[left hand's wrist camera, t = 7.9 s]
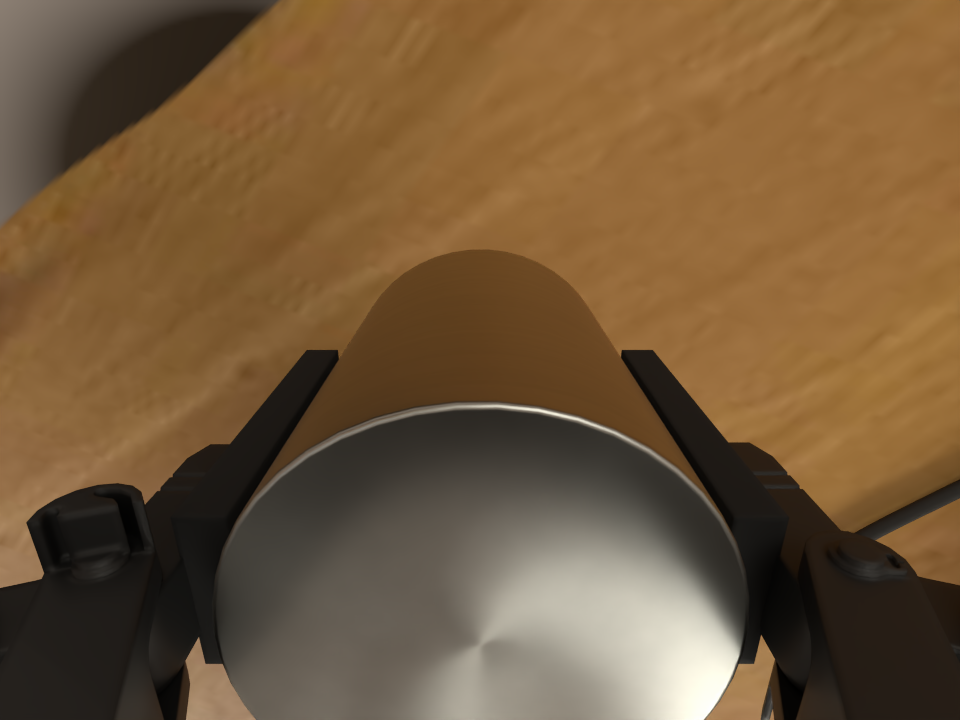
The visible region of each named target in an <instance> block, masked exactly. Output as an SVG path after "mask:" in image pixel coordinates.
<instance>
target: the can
mask: <svg viewBox="0 0 960 720" xmlns="http://www.w3.org/2000/svg"><path fill="white" fill-rule="evenodd" d="M212 609H213V623H214V634H215V638H216V642H217V646H218V650H219V654H220V658H221V661H222V663H223V666H224V668H225V670H226V673H227V675H228V677H229V680H230V682H231V684H232V686H233V687H234V689H235V690H236V692H237V694H238V695H239V697H240V699H241V700H242V702H243V704H244V705H245V706H246V708H247V709H248V710H249V711H250V713H251V714H252V715H253V716H254V717H255V719H256V720H705V719H706V718H707V717H708V716H709V714H710V713H711V712H712V710H713V709H714V708H715V707H716V705H717V704H718V703H719V701H720V700H721V698H722V696H723V695H724V693H725V691H726V689H727V688H728V686H729V684H730V683H731V681H732V679H733V677H734V674H735V672H736V669H737V667H738V664H739V662H740V659H741V656H742V654H743V649H744V645H745V640H746V635H747V631H748V619H749V592H748V585H747V578H746V571H745V567H744V564H743V561H742V557H741V554H740V551H739V548H738V545H737V542H736V540H735V538H734V536H733V534H732V532H731V531H730V529H729V527H728V525H727V523H726V521H725V519H724V517H723V515H722V514H721V512H720V511H719V509H718V508H717V506H716V504H715V503H714V501H713V500H712V498H711V497H710V495H709V494H708V492H707V490H706V489H705V487H704V486H703V484H702V483H701V481H700V480H699V478H698V477H697V475H696V473H695V472H694V470H693V469H692V467H691V466H690V464H689V463H688V461H687V459H686V458H685V456H684V455H683V453H682V452H681V450H680V449H679V447H678V445H677V444H676V442H675V441H674V439H673V438H672V436H671V435H670V433H669V432H668V430H667V428H666V427H665V425H664V424H663V422H662V421H661V419H660V418H659V416H658V414H657V413H656V411H655V410H654V408H653V407H652V405H651V404H650V402H649V401H648V399H647V397H646V396H645V394H644V393H643V391H642V390H641V388H640V387H639V385H638V383H637V382H636V380H635V379H634V377H633V376H632V374H631V373H630V371H629V369H628V368H627V366H626V365H625V363H624V362H623V360H622V359H621V357H620V356H619V354H618V352H617V351H616V349H615V348H614V346H613V345H612V343H611V342H610V340H609V338H608V337H607V335H606V334H605V332H604V331H603V329H602V328H601V326H600V325H599V323H598V321H597V320H596V318H595V317H594V315H593V314H592V312H591V311H590V309H589V307H588V306H587V305H586V303H585V302H584V301H583V299H582V298H581V297H580V295H579V294H578V293H577V292H576V291H575V290H574V289H573V288H572V287H571V286H570V285H569V284H568V283H567V281H565V280H564V279H563V278H561V277H560V276H559V275H557V274H556V273H555V272H553V271H552V270H550V269H548V268H547V267H545V266H543V265H541V264H540V263H538V262H535V261H533V260H530V259H528V258H525V257H523V256H520V255H516V254H512V253H508V252H503V251H494V250H466V251H459V252H452V253H449V254H445V255H442V256H438V257H435V258H433V259H430V260H428V261H426V262H423V263H421V264H419V265H417V266H416V267H414V268H412V269H411V270H409V271H407V272H406V273H404V274H403V275H402V276H401V277H399V278H398V279H397V280H396V281H394V282H393V283H392V284H391V285H390V286H389V287H388V288H387V289H386V290H385V291H384V292H383V294H382V295H381V296H380V297H379V299H378V300H377V301H376V303H375V304H374V306H373V307H372V309H371V310H370V312H369V313H368V315H367V316H366V318H365V319H364V321H363V323H362V324H361V326H360V327H359V329H358V330H357V332H356V334H355V335H354V337H353V338H352V340H351V341H350V343H349V345H348V346H347V348H346V349H345V351H344V352H343V354H342V355H341V357H340V359H339V360H338V362H337V363H336V365H335V366H334V368H333V370H332V371H331V373H330V374H329V376H328V377H327V379H326V381H325V382H324V384H323V385H322V387H321V388H320V390H319V392H318V393H317V395H316V396H315V398H314V399H313V401H312V402H311V404H310V406H309V407H308V409H307V410H306V412H305V413H304V415H303V417H302V418H301V420H300V421H299V423H298V424H297V426H296V428H295V429H294V431H293V432H292V434H291V435H290V437H289V438H288V440H287V442H286V443H285V445H284V446H283V448H282V449H281V451H280V453H279V454H278V456H277V457H276V459H275V460H274V462H273V464H272V465H271V467H270V468H269V470H268V471H267V473H266V475H265V476H264V478H263V479H262V481H261V482H260V484H259V485H258V487H257V489H256V490H255V492H254V493H253V495H252V496H251V498H250V500H249V501H248V503H247V504H246V506H245V507H244V509H243V511H242V512H241V514H240V515H239V517H238V518H237V520H236V522H235V524H234V526H233V528H232V530H231V532H230V534H229V536H228V538H227V540H226V542H225V545H224V547H223V550H222V553H221V557H220V560H219V563H218V567H217V570H216V574H215V582H214V592H213V601H212Z"/></svg>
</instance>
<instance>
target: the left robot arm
mask: <svg viewBox="0 0 960 720" xmlns="http://www.w3.org/2000/svg"><path fill="white" fill-rule="evenodd" d="M621 359H622V360H623V362H624V363H625V365H626V366H627V368H628V369H629V371H630V373H631V374H632V376H633V377H634V379H635V380H636V382H637V383H638V385H639V387H640V388H641V390H642V391H643V393H644V394H645V396H646V397H647V399H648V401H649V402H650V404H651V405H652V407H653V408H654V410H655V411H656V413H657V414H658V416H659V418H660V419H661V421H662V422H663V424H664V425H665V427H666V428H667V430H668V432H669V433H670V435H671V436H672V438H673V439H674V441H675V442H676V444H677V445H678V447H679V449H680V450H681V452H682V453H683V455H684V456H685V458H686V459H687V461H688V463H689V464H690V466H691V467H692V469H693V470H694V472H695V473H696V475H697V477H698V478H699V480H700V481H701V483H702V484H703V486H704V487H705V489H706V490H707V492H708V494H709V495H710V497H711V498H712V500H713V501H714V503H715V504H716V506H717V508H718V509H719V511H720V512H721V514H722V515H723V517H724V519H725V521H726V523H727V525H728V527H729V529H730V531H731V532H732V534H733V536H734V538H735V540H736V542H737V545H738V548H739V551H740V554H741V557H742V561H743V564H744V567H745V571H746V578H747V585H748V592H749V619H748V631H747V635H746V640H745V645H744V649H743V654H742V656H741V659H740V662H739V664H754V662H755V657H756V653H757V649H758V645H759V641H760V637H761V635H762V637H763V638H764V640H765V642H766V644H767V646H768V647H769V649H770V651H771V653H772V654H773V656H774V658H775V662H774V666H773V669H772V673H771V677H770V681H769V685H768V689H767V693H766V696H765V700H764V704H763V708H762V715H761V720H770V716H771V712H772V710H773V712H774V720H960V585H955V584H950V583H945V582H941V581H936V580H931V579H926V578H922V577H918V576H917V574H916V572H915V571H914V570H913V568H912V567H911V566H910V565H909V563H908V562H907V561H906V560H905V559H904V558H903V557H901V556H900V555H899V554H897V553H896V552H895V551H893V550H892V549H891V548H889V547H887V546H885V545H883V544H881V543H879V542H877V541H875V540H877V539H878V538H880V537H882V536H884V535H886V534H888V533H890V532H892V531H894V530H896V529H898V528H900V527H902V526H904V525H906V524H908V523H910V522H912V521H914V520H916V519H918V518H920V517H922V516H924V515H926V514H928V513H930V512H932V511H935V510H937V509H939V508H941V507H943V506H945V505H947V504H949V503H951V502H953V501H955V500H957V499H959V498H960V480H958V481H956V482H954V483H952V484H950V485H948V486H946V487H944V488H941V489H939V490H937V491H935V492H933V493H931V494H929V495H927V496H925V497H923V498H921V499H919V500H917V501H915V502H913V503H911V504H909V505H907V506H905V507H903V508H901V509H899V510H897V511H895V512H893V513H891V514H889V515H887V516H885V517H883V518H881V519H879V520H877V521H876V522H874V523H872V524H870V525H868V526H866V527H864V528H863V529H861V530H859V531H857V532H855V533H851V532H847V531H841V530H840V529H839V528H838V527H837V526H836V525H835V524H834V523H833V522H832V520H831V519H830V518H829V517H828V516H827V515H826V514H825V513H824V512H823V511H822V510H821V509H820V507H819V506H818V505H817V504H816V503H815V502H814V501H813V500H812V499H811V498H810V497H809V495H808V494H807V493H806V492H805V491H804V490H803V489H800V488H799V485H798V484H797V482H796V481H795V480H794V479H793V478H792V477H791V476H790V475H787V472H786V470H785V469H784V468H783V467H782V466H781V465H780V464H779V463H778V462H777V461H776V460H775V459H774V457H773V456H771V455H769V454H768V453H766V452H764V451H763V450H761V449H759V448H758V447H756V446H754V445H753V444H751V443H728V442H727V440H726V439H725V438H724V437H723V436H722V434H721V433H720V432H719V431H718V429H717V428H716V427H715V426H714V425H713V423H712V422H711V421H710V420H709V418H708V417H707V416H706V415H705V414H704V412H703V411H702V410H701V409H700V407H699V406H698V405H697V404H696V403H695V401H694V400H693V399H692V398H691V396H690V395H689V394H688V393H687V391H686V390H685V389H684V388H683V387H682V385H681V384H680V383H679V382H678V380H677V379H676V378H675V377H674V376H673V374H672V373H671V372H670V371H669V369H668V368H667V367H666V366H665V365H664V363H663V362H662V361H661V360H660V358H659V357H658V356H657V355H656V353H655V352H654V351H653V350H622V353H621ZM338 360H339V357H338V350H307V351H306V352H305V353H304V354H303V355H302V357H301V358H300V359H299V360H298V362H297V363H296V364H295V365H294V367H293V368H292V369H291V370H290V371H289V373H288V374H287V375H286V376H285V378H284V379H283V380H282V381H281V382H280V384H279V385H278V386H277V387H276V389H275V390H274V391H273V392H272V393H271V395H270V396H269V397H268V398H267V400H266V401H265V402H264V403H263V404H262V406H261V407H260V408H259V409H258V411H257V412H256V413H255V414H254V416H253V417H252V418H251V419H250V420H249V422H248V423H247V424H246V425H245V427H244V428H243V429H242V430H241V431H240V433H239V434H238V435H237V436H236V438H235V439H234V440H233V441H232V442H231V444H210V445H209V446H207V447H205V448H204V449H202V450H200V451H199V452H197V453H195V454H194V455H192V456H190V457H189V458H187V459H186V460H185V462H184V463H183V464H182V465H181V466H180V467H179V468H178V469H177V470H176V471H175V473H174V474H173V477H172V478H169V479H168V480H167V481H166V482H165V483H164V485H163V486H162V487H161V490H160V491H157V492H156V493H155V494H154V496H153V497H152V498H151V499H150V500H149V501H148V502H147V503H146V504H144V500H143V496H142V492H141V491H139V490H138V489H137V488H135V487H134V486H131V485H125V484H119V483H115V484H103V485H96V486H92V487H88V488H84V489H80V490H76V491H74V492H71V493H69V494H67V495H64V496H62V497H60V498H57V499H55V500H53V501H52V502H50V503H49V504H47V505H45V506H44V507H42V508H41V509H39V510H38V511H37V512H36V513H35V514H34V515H33V516H32V517H31V518H30V519H29V520H28V521H27V522H26V523H27V526H28V529H29V532H30V534H31V537H32V540H33V543H34V546H35V548H36V551H37V554H38V557H39V560H40V562H41V565H42V568H43V571H44V575H43V577H42V579H40V580H36V581H32V582H27V583H22V584H17V585H13V586H8V587H3V588H0V720H186V714H187V706H188V697H189V689H190V681H189V674H188V669H187V666H186V662H185V660H186V658H187V657H188V655H189V653H190V651H191V650H192V648H193V646H194V644H195V642H196V641H197V639H198V637H199V638H200V643H201V647H202V651H203V655H204V659H205V663H206V664H223V663H222V661H221V658H220V654H219V650H218V646H217V642H216V638H215V634H214V623H213V609H212V601H213V592H214V582H215V574H216V570H217V567H218V563H219V560H220V557H221V553H222V550H223V547H224V545H225V542H226V540H227V538H228V536H229V534H230V532H231V530H232V528H233V526H234V524H235V522H236V520H237V518H238V517H239V515H240V514H241V512H242V511H243V509H244V507H245V506H246V504H247V503H248V501H249V500H250V498H251V496H252V495H253V493H254V492H255V490H256V489H257V487H258V485H259V484H260V482H261V481H262V479H263V478H264V476H265V475H266V473H267V471H268V470H269V468H270V467H271V465H272V464H273V462H274V460H275V459H276V457H277V456H278V454H279V453H280V451H281V449H282V448H283V446H284V445H285V443H286V442H287V440H288V438H289V437H290V435H291V434H292V432H293V431H294V429H295V428H296V426H297V424H298V423H299V421H300V420H301V418H302V417H303V415H304V413H305V412H306V410H307V409H308V407H309V406H310V404H311V402H312V401H313V399H314V398H315V396H316V395H317V393H318V392H319V390H320V388H321V387H322V385H323V384H324V382H325V381H326V379H327V377H328V376H329V374H330V373H331V371H332V370H333V368H334V366H335V365H336V363H337V362H338Z"/></svg>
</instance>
